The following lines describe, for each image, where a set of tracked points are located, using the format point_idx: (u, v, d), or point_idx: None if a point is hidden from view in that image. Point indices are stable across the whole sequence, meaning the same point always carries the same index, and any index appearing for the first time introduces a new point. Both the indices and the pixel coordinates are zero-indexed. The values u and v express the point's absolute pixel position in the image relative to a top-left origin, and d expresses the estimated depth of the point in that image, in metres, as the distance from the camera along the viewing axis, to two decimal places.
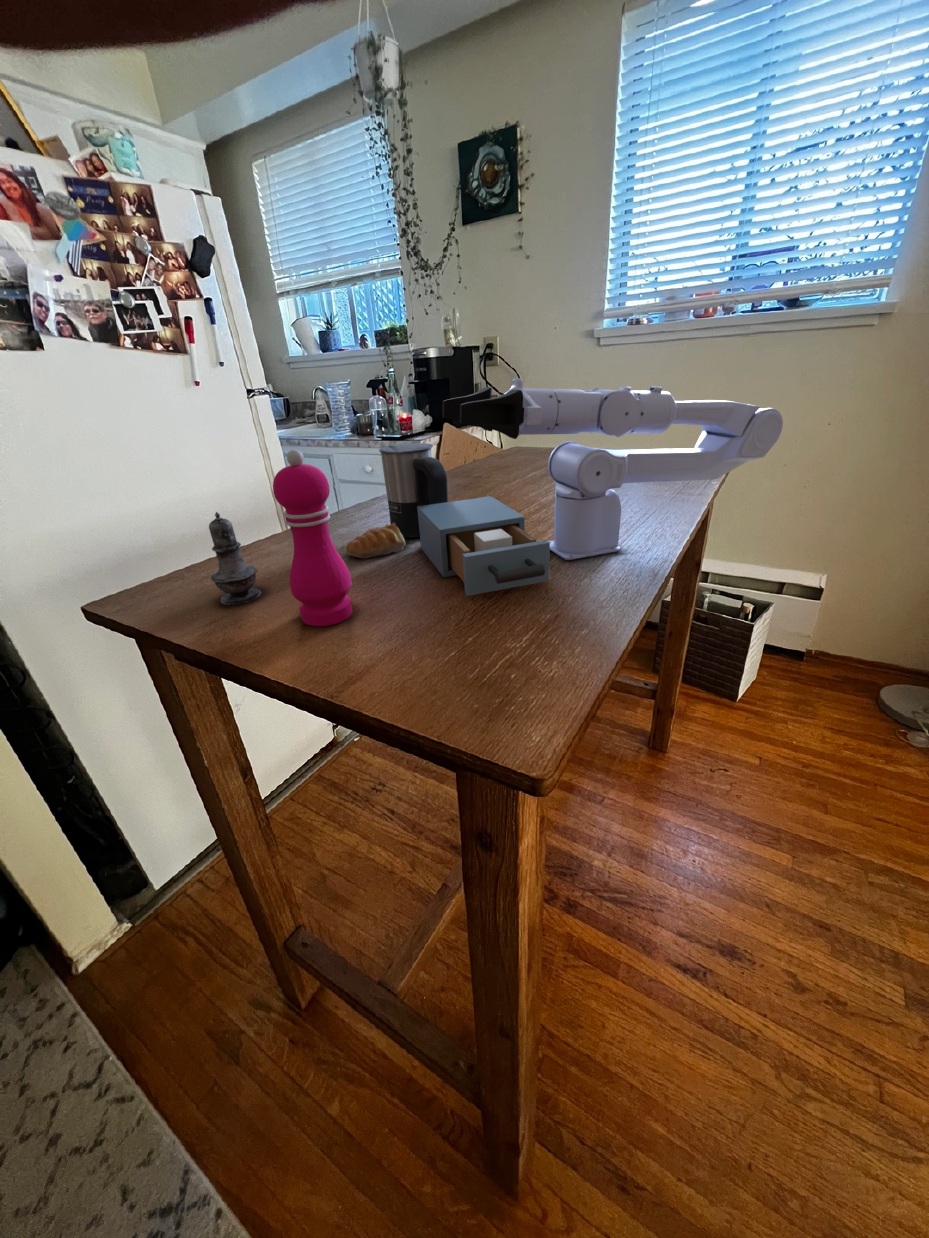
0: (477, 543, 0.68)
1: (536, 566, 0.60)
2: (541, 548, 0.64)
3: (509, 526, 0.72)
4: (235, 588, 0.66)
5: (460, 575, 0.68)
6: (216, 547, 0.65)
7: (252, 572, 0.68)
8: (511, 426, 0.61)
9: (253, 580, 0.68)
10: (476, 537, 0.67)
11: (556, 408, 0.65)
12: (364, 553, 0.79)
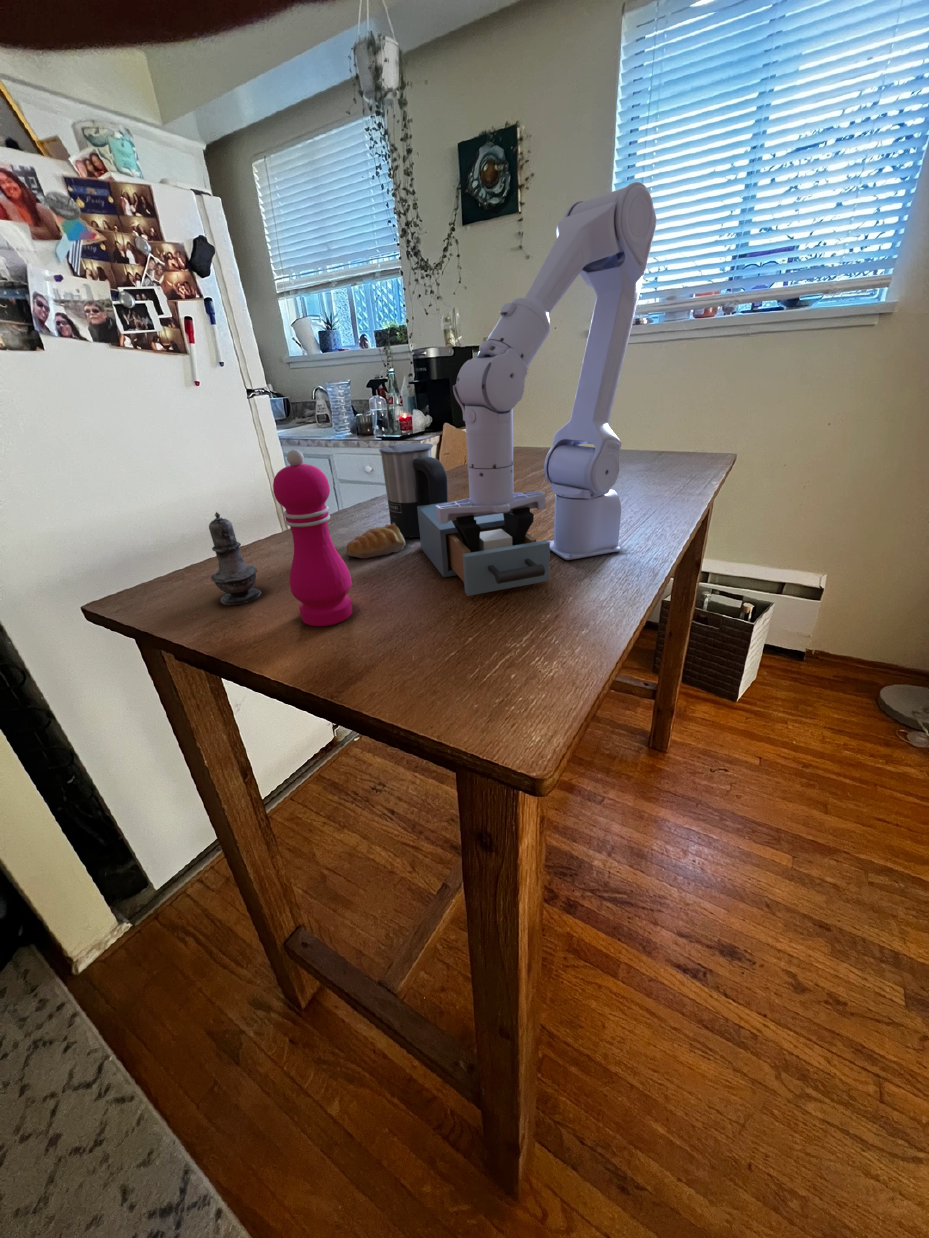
0: None
1: (536, 566, 0.60)
2: (541, 548, 0.64)
3: None
4: (235, 588, 0.66)
5: (460, 575, 0.68)
6: (216, 547, 0.65)
7: (252, 572, 0.68)
8: None
9: (253, 580, 0.68)
10: None
11: None
12: (364, 553, 0.79)
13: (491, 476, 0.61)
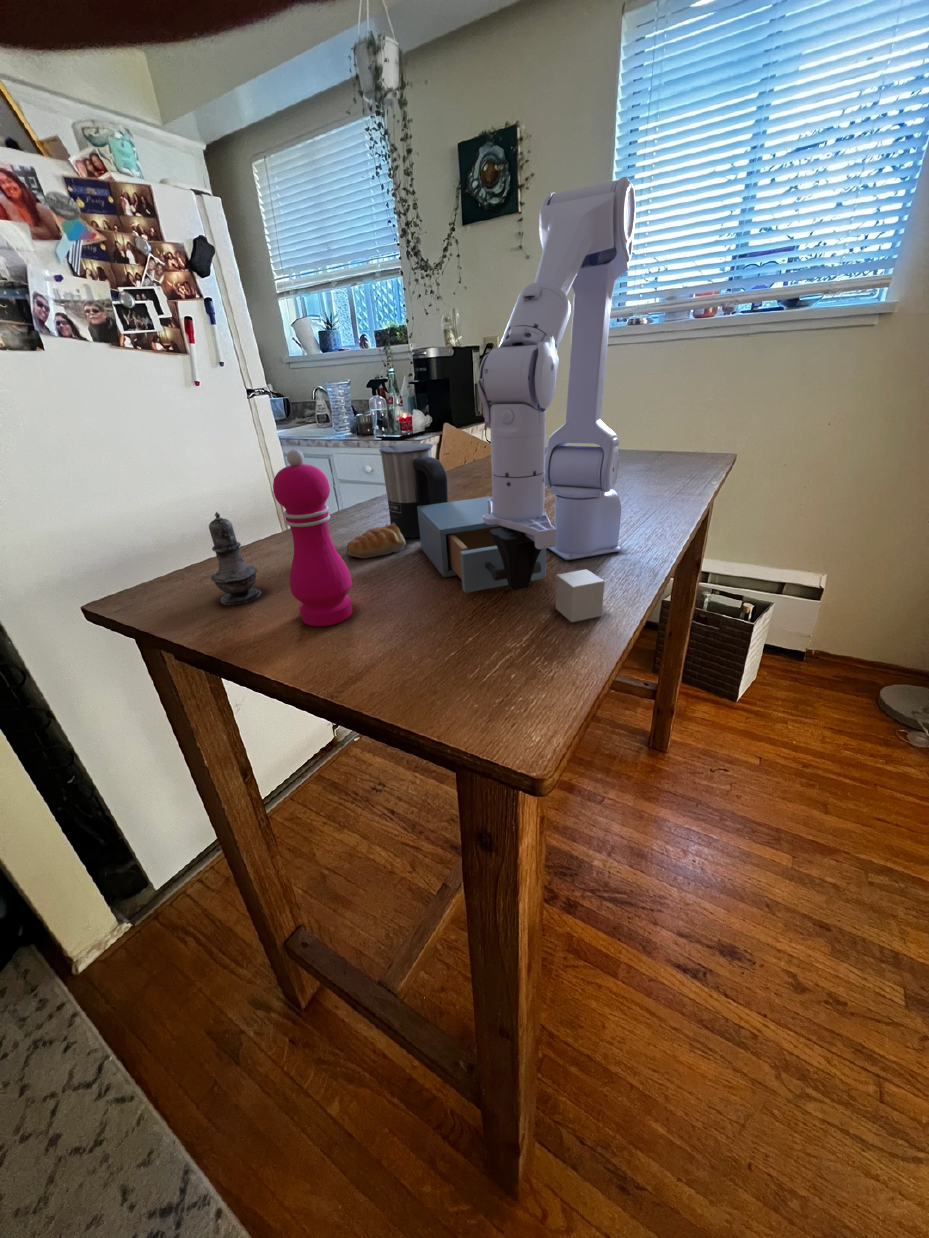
0: (561, 587, 0.58)
1: None
2: None
3: None
4: (235, 588, 0.66)
5: (458, 572, 0.68)
6: (216, 547, 0.65)
7: (252, 572, 0.68)
8: None
9: (253, 580, 0.68)
10: (560, 580, 0.58)
11: (523, 479, 0.52)
12: (364, 553, 0.79)
13: (492, 481, 0.54)
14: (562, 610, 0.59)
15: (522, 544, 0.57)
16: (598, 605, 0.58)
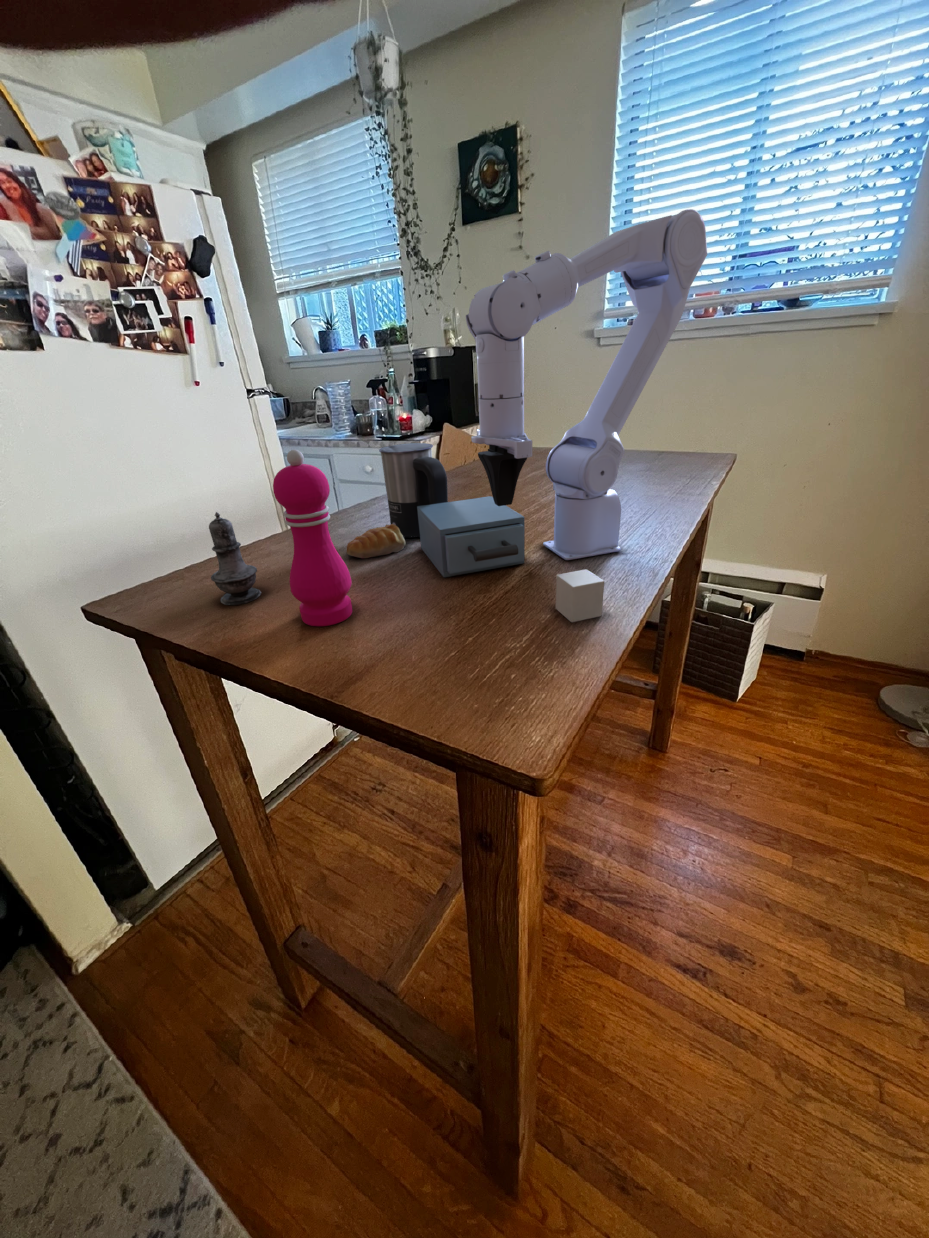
0: (561, 587, 0.58)
1: (510, 546, 0.67)
2: (516, 530, 0.71)
3: None
4: (235, 588, 0.66)
5: None
6: (216, 547, 0.65)
7: (252, 572, 0.68)
8: (517, 461, 0.65)
9: (253, 580, 0.68)
10: (560, 580, 0.58)
11: (504, 400, 0.61)
12: (364, 553, 0.79)
13: (479, 406, 0.64)
14: (562, 610, 0.59)
15: (505, 463, 0.66)
16: (598, 605, 0.58)
